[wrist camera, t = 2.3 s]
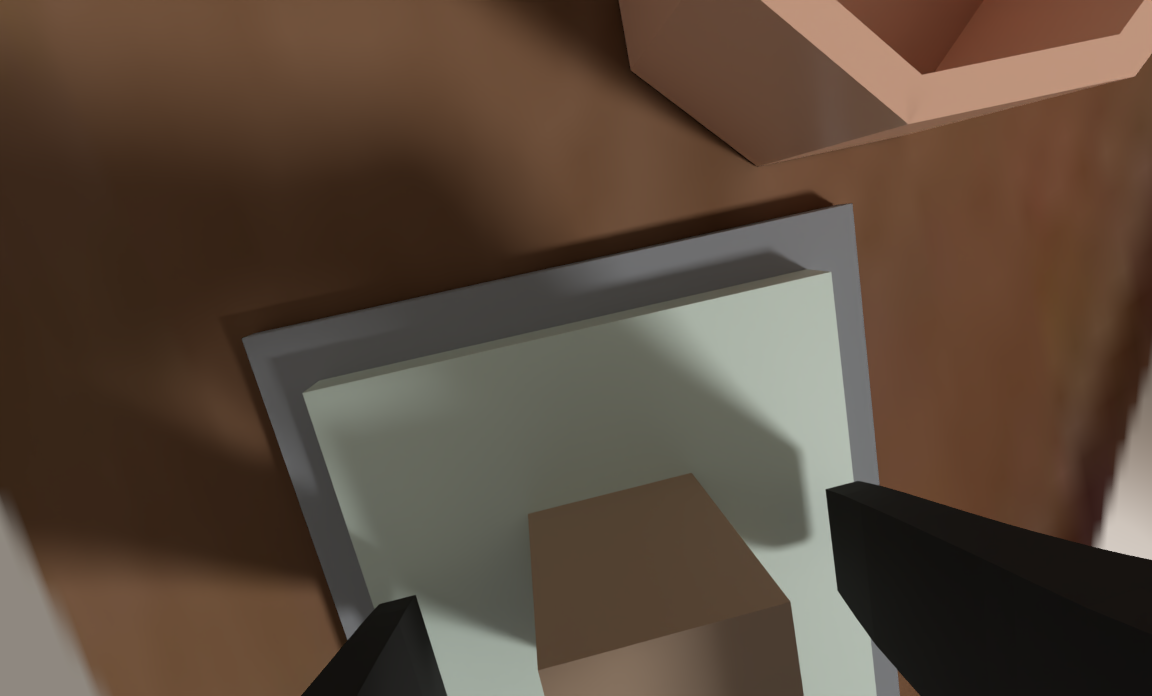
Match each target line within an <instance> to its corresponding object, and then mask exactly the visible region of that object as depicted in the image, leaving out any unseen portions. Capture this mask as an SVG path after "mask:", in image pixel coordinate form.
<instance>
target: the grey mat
mask: <svg viewBox="0 0 1152 696" xmlns="http://www.w3.org/2000/svg"><path fill="white" fill-rule="evenodd" d="M805 269H810V270H819V271H828V272H831V274H832V283H833V293H834V302H835V311H836V320H837V330H838V339H839V348H840V358H841V367H842V376H843V386H844V395H845V404H846V414H847V423H848V432H849V441H850V451H851V460H852V469H853V479H854V482H855V481H862V482H866V483H871V484H875V485H879V476H878V465H877V455H876V444H875V434H874V424H873V413H872V403H871V393H870V382H869V372H868V362H867V351H866V341H865V330H864V320H863V310H862V299H861V289H860V279H859V268H858V258H857V248H856V237H855V227H854V216H853V206H852V203H851V204H841V205H834V206H829V207H825V208H820V209H816V210H811V211H807V212H802V213H798V214H793V215H789V216H784V217H780V218H775V219H771V220H766V221H761V222H757V223H752V224H748V225H743V226H739V227H734V228H730V229H725V230H721V231H716V232H712V233H707V234H703V235H698V236H693V237H689V238H684V239H680V240H675V241H671V242H666V243H662V244H657V245H653V246H648V247H644V248H639V249H635V250H630V251H625V252H621V253H616V254H612V255H607V256H603V257H598V258H594V259H589V260H585V261H580V262H576V263H571V264H567V265H562V266H557V267H553V268H548V269H544V270H539V271H535V272H530V273H526V274H521V275H517V276H512V277H508V278H503V279H499V280H494V281H489V282H485V283H480V284H476V285H471V286H467V287H462V288H458V289H453V290H449V291H444V292H440V293H435V294H431V295H426V296H422V297H417V298H412V299H408V300H403V301H399V302H394V303H390V304H385V305H381V306H376V307H372V308H367V309H363V310H358V311H354V312H349V313H344V314H340V315H335V316H331V317H326V318H322V319H317V320H313V321H308V322H304V323H299V324H295V325H290V326H286V327H281V328H276V329H272V330H267V331H263V332H258V333H254V334H252V335H249V336H246V337H244V338H242V341H243V344H244V347H245V350H246V352H247V355H248V358H249V361H250V364H251V367H252V370H253V372H254V375H255V378H256V381H257V384H258V387H259V390H260V392H261V395H262V398H263V401H264V404H265V407H266V409H267V412H268V415H269V418H270V421H271V424H272V427H273V429H274V432H275V435H276V438H277V441H278V444H279V446H280V449H281V452H282V455H283V458H284V461H285V464H286V466H287V469H288V472H289V475H290V478H291V481H292V483H293V486H294V489H295V492H296V495H297V498H298V501H299V503H300V506H301V509H302V512H303V515H304V518H305V521H306V523H307V526H308V529H309V532H310V535H311V538H312V540H313V543H314V546H315V549H316V552H317V555H318V558H319V560H320V563H321V566H322V569H323V572H324V575H325V577H326V580H327V583H328V586H329V589H330V592H331V595H332V597H333V600H334V603H335V606H336V609H337V612H338V614H339V617H340V620H341V623H342V626H343V629H344V632H345V634H346V637H347V640H348V639H349V638H350V637H351V636H352V634H353V633H354V632H355V631H356V630H357V629H358V627H359V626H360V625H361V624H362V623H363V621H364V620H365V619H366V618H367V617H368V616H369V615H370V613H371V612H372V611H373V610H374V606H373V603H372V600H371V597H370V594H369V591H368V588H367V585H366V582H365V579H364V576H363V573H362V570H361V567H360V564H359V561H358V558H357V555H356V552H355V549H354V546H353V543H352V541H351V538H350V535H349V532H348V529H347V526H346V523H345V520H344V517H343V514H342V511H341V508H340V505H339V502H338V499H337V496H336V493H335V490H334V487H333V484H332V481H331V478H330V475H329V472H328V469H327V466H326V463H325V460H324V457H323V454H322V451H321V448H320V445H319V442H318V439H317V436H316V433H315V430H314V427H313V424H312V421H311V418H310V415H309V412H308V409H307V406H306V403H305V400H304V397H303V394H302V393H303V392H305V391H306V390H307V389H309V388H310V387H311V386H313V385H314V384H315V383H317V382H318V381H319V380H324V379H328V378H332V377H337V376H341V375H346V374H350V373H354V372H359V371H363V370H367V369H372V368H376V367H381V366H385V365H389V364H394V363H398V362H402V361H407V360H411V359H416V358H420V357H424V356H429V355H433V354H438V353H442V352H446V351H451V350H455V349H459V348H464V347H468V346H473V345H477V344H481V343H486V342H490V341H494V340H499V339H503V338H508V337H512V336H516V335H521V334H525V333H529V332H534V331H538V330H543V329H547V328H551V327H556V326H560V325H565V324H569V323H573V322H578V321H582V320H586V319H591V318H595V317H600V316H604V315H608V314H613V313H617V312H621V311H626V310H630V309H635V308H639V307H643V306H648V305H652V304H657V303H661V302H665V301H670V300H674V299H678V298H683V297H687V296H692V295H696V294H700V293H705V292H709V291H713V290H718V289H722V288H727V287H731V286H735V285H740V284H744V283H748V282H753V281H757V280H762V279H766V278H770V277H775V276H779V275H784V274H788V273H792V272H797V271H801V270H805ZM871 646H872V656H873V665H874V674H875V684H876V693H877V696H900V693H899V683H898V673H897V669H896V667H895V666H894V665H893V664H892V663H891V662H890V661H889V660H888V658H887V657H886V656H885V655H884V654H883V653H882V652H881V650H880V649H879V648H878V647H877V646H876V645H875V643H874V642H873V641H872V639H871Z"/></svg>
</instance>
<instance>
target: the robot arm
mask: <svg viewBox="0 0 1152 696" xmlns="http://www.w3.org/2000/svg"><path fill="white" fill-rule="evenodd" d="M825 490H826V499H827V507H828V515H829V524H830V532H831V541H832V549H833V557H834V566H835V574H836V583H837V591H838V592H839V594H840V595H841V597H842V598H843V599H844V601H845V602H846V604H847V605H848V607H849V608H850V610H851V611H852V613H853V614H854V616H855V617H856V619H857V620H858V621H859V623H860V624H861V625H862V627H863V628H864V630H865V631H866V632H867V634H868V635H869V636H870V638H871V639H872V641H873V642H874V643H875V645H876V646H877V647H878V648H879V649H880V650H881V652H882V653H883V654H884V655H885V656H886V657H887V658H888V660H889V661H890V662H891V663H892V664H893V665H894V666H895V667H896V669H897V670H898V671H899V672H900V673H901V674H902V675H903V677H904V678H905V679H906V680H907V681H908V682H909V683H910V684H911V686H912V687H913V688H914V689H915V690H916V691H917V692H918V693H919V694H920V696H1152V560H1149V559H1144V558H1139V557H1135V556H1130V555H1125V554H1121V553H1117V552H1112V551H1108V550H1103V549H1099V548H1095V547H1091V546H1087V545H1083V544H1080V543H1076V542H1072V541H1068V540H1064V539H1060V538H1057V537H1053V536H1049V535H1045V534H1041V533H1037V532H1034V531H1030V530H1027V529H1023V528H1020V527H1016V526H1012V525H1009V524H1005V523H1002V522H999V521H995V520H992V519H988V518H985V517H982V516H978V515H975V514H972V513H968V512H965V511H962V510H959V509H955V508H952V507H949V506H946V505H942V504H939V503H936V502H933V501H929V500H926V499H923V498H920V497H917V496H913V495H910V494H907V493H903V492H900V491H897V490H893V489H890V488H886V487H883V486H879V485H875V484H871V483H866V482H862V481H855V482H852V483H848V484H844V485H840V486H836V487H832V488H828V489H825ZM301 696H447V693H446V690H445V687H444V684H443V680H442V677H441V674H440V671H439V668H438V664H437V661H436V658H435V655H434V652H433V648H432V645H431V642H430V639H429V636H428V632H427V629H426V626H425V623H424V620H423V617H422V613H421V610H420V607H419V604H418V601H417V597H416V595H413V596H409V597H405V598H401V599H397V600H393V601H389V602H385V603H382V604H379V605H378V606H377V607H376V608H375V609H374V610H373V611H372V612H371V613H370V615H369V616H368V617H367V618H366V619H365V620H364V621H363V623H362V624H361V625H360V626H359V627H358V629H357V630H356V631H355V632H354V633H353V634H352V636H351V637H350V638H349V639H348V641H347V642H346V643H345V644H344V645H343V647H342V648H341V649H340V650H339V651H338V653H337V654H336V655H335V656H334V657H333V659H332V660H331V661H330V662H329V663H328V665H327V666H326V667H325V668H324V669H323V670H322V672H321V673H320V674H319V675H318V676H317V678H316V679H315V680H314V681H313V682H312V684H311V685H310V686H309V687H308V688H307V689H306V691H305V692H304V693H303V694H302V695H301Z"/></svg>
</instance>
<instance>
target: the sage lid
mask: <svg viewBox="0 0 1152 696" xmlns="http://www.w3.org/2000/svg"><path fill="white" fill-rule="evenodd" d="M302 394H303V397H304V400H305V403H306V406H307V409H308V412H309V415H310V418H311V421H312V424H313V427H314V430H315V433H316V436H317V439H318V442H319V445H320V448H321V451H322V454H323V457H324V460H325V463H326V466H327V469H328V472H329V475H330V478H331V481H332V484H333V487H334V490H335V493H336V496H337V499H338V502H339V505H340V508H341V511H342V514H343V517H344V520H345V523H346V526H347V529H348V532H349V535H350V538H351V541H352V543H353V546H354V549H355V552H356V555H357V558H358V561H359V564H360V567H361V570H362V573H363V576H364V579H365V582H366V585H367V588H368V591H369V594H370V597H371V600H372V603H373V606H374V609H375V608H376V607H377V606H378V605H379V604H382V603H385V602H389V601H393V600H397V599H401V598H405V597H409V596H413V595H416V597H417V601H418V604H419V607H420V610H421V613H422V617H423V620H424V623H425V626H426V629H427V632H428V636H429V639H430V642H431V645H432V648H433V652H434V655H435V658H436V661H437V664H438V668H439V671H440V674H441V677H442V680H443V684H444V687H445V690H446V693H447V696H877V693H876V684H875V674H874V665H873V656H872V646H871V638H870V636H869V635H868V634H867V632H866V631H865V630H864V628H863V627H862V625H861V624H860V623H859V621H858V620H857V619H856V617H855V616H854V614H853V613H852V611H851V610H850V608H849V607H848V605H847V604H846V602H845V601H844V599H843V598H842V597H841V595H840V594H839V592H838V591H837V583H836V574H835V566H834V557H833V549H832V541H831V532H830V524H829V515H828V507H827V499H826V490H825V489H828V488H832V487H836V486H840V485H844V484H848V483H852V482H854V479H853V469H852V460H851V451H850V441H849V432H848V423H847V414H846V404H845V395H844V386H843V376H842V367H841V358H840V348H839V339H838V330H837V320H836V311H835V302H834V293H833V283H832V274H831V272H828V271H819V270H810V269H805V270H801V271H797V272H792V273H788V274H784V275H779V276H775V277H770V278H766V279H762V280H757V281H753V282H748V283H744V284H740V285H735V286H731V287H727V288H722V289H718V290H713V291H709V292H705V293H700V294H696V295H692V296H687V297H683V298H678V299H674V300H670V301H665V302H661V303H657V304H652V305H648V306H643V307H639V308H635V309H630V310H626V311H621V312H617V313H613V314H608V315H604V316H600V317H595V318H591V319H586V320H582V321H578V322H573V323H569V324H565V325H560V326H556V327H551V328H547V329H543V330H538V331H534V332H529V333H525V334H521V335H516V336H512V337H508V338H503V339H499V340H494V341H490V342H486V343H481V344H477V345H473V346H468V347H464V348H459V349H455V350H451V351H446V352H442V353H438V354H433V355H429V356H424V357H420V358H416V359H411V360H407V361H402V362H398V363H394V364H389V365H385V366H381V367H376V368H372V369H367V370H363V371H359V372H354V373H350V374H346V375H341V376H337V377H332V378H328V379H324V380H319V381H318V382H317V383H315V384H314V385H313V386H311V387H310V388H309V389H307V390H306V391H305V392H303V393H302Z"/></svg>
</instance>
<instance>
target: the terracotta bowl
mask: <svg viewBox="0 0 1152 696" xmlns="http://www.w3.org/2000/svg"><path fill="white" fill-rule="evenodd" d="M619 5H620V11H621V17H622V23H623V28H624V34H625V40H626V46H627V52H628V57H629V63H630V69H631V71H632V72H634V73H635V74H636V75H638V76H639V77H640V78H642V79H643V80H644V81H645V82H647V83H648V84H649V85H651V86H652V87H653V88H655V89H656V90H657V91H659V92H660V93H661V94H663V95H664V96H665V97H667V98H668V99H669V100H670V101H672V102H673V103H674V104H676V105H677V106H678V107H680V108H681V109H682V110H684V111H685V112H686V113H688V114H689V115H690V116H692V117H693V118H694V119H696V120H697V121H698V122H699V123H701V124H702V125H703V126H705V127H706V128H707V129H709V130H710V131H711V132H713V133H714V134H715V135H717V136H718V137H719V138H721V139H722V140H723V141H724V142H726V143H727V144H728V145H730V146H731V147H732V148H734V149H735V150H736V151H738V152H739V153H740V154H742V155H743V156H744V157H746V158H747V159H748V160H749V161H751V162H752V163H753V164H755V165H756V166H757V167H759V166H763V165H768V164H773V163H777V162H782V161H787V160H791V159H796V158H801V157H805V156H810V155H815V154H820V153H824V152H829V151H834V150H838V149H843V148H848V147H852V146H857V145H862V144H866V143H871V142H876V141H880V140H885V139H890V138H895V137H899V136H904V135H908V134H912V133H915V132H919V131H923V130H927V129H931V128H935V127H939V126H943V125H947V124H951V123H954V122H958V121H962V120H966V119H970V118H974V117H978V116H982V115H986V114H990V113H994V112H997V111H1001V110H1005V109H1009V108H1013V107H1017V106H1021V105H1025V104H1029V103H1033V102H1036V101H1040V100H1044V99H1048V98H1052V97H1056V96H1060V95H1064V94H1068V93H1072V92H1075V91H1079V90H1083V89H1087V88H1091V87H1095V86H1099V85H1103V84H1107V83H1111V82H1114V81H1118V80H1122V79H1126V78H1130V77H1134V76H1135V75H1136V74H1137V73H1138V71H1139V70H1140V69H1141V67H1142V66H1143V65H1144V63H1145V62H1146V60H1147V59H1148V58H1149V56H1150V55H1151V54H1152V0H619Z"/></svg>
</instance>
